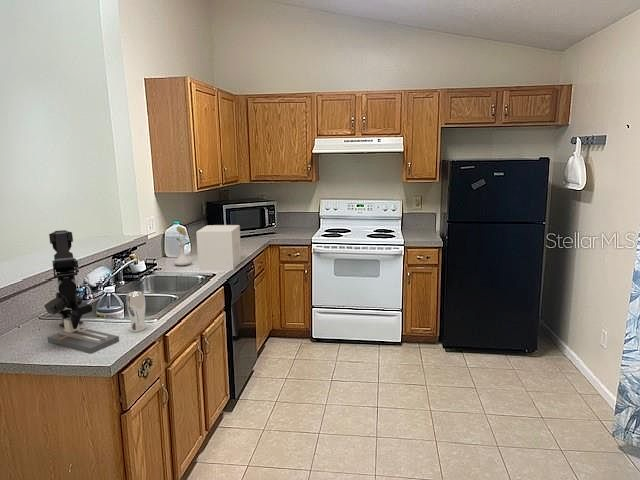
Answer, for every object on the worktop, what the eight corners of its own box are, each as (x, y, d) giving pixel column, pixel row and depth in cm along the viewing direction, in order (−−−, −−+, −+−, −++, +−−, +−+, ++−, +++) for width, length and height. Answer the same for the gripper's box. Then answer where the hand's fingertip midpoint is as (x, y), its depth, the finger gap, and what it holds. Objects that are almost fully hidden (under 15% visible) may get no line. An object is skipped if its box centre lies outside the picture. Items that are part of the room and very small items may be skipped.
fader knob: (65, 334, 174) (63, 319, 173) (74, 330, 178) (73, 315, 177) (70, 335, 173) (68, 320, 172) (80, 331, 177) (78, 317, 175)
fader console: (48, 342, 173) (47, 334, 173) (77, 331, 184) (76, 323, 183) (91, 353, 163) (90, 345, 162) (119, 341, 173) (118, 333, 173)
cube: (233, 270, 279) (231, 231, 274) (198, 271, 279) (196, 231, 275) (241, 261, 303) (239, 225, 299) (209, 261, 304) (207, 225, 299)
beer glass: (149, 325, 189) (146, 290, 186) (144, 332, 182) (140, 296, 179) (132, 326, 189) (129, 291, 186) (126, 332, 182) (123, 296, 179)
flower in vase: (194, 265, 292) (192, 226, 287) (177, 267, 286) (174, 228, 281) (188, 261, 303) (185, 224, 298) (170, 263, 296) (168, 225, 292)
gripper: (30, 291, 169) (36, 331, 172) (63, 298, 161) (68, 339, 164) (59, 284, 179) (63, 321, 182) (91, 289, 171) (95, 329, 174)
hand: (72, 328), depth 175 cm, fingers closed on fader knob, 3 cm apart
